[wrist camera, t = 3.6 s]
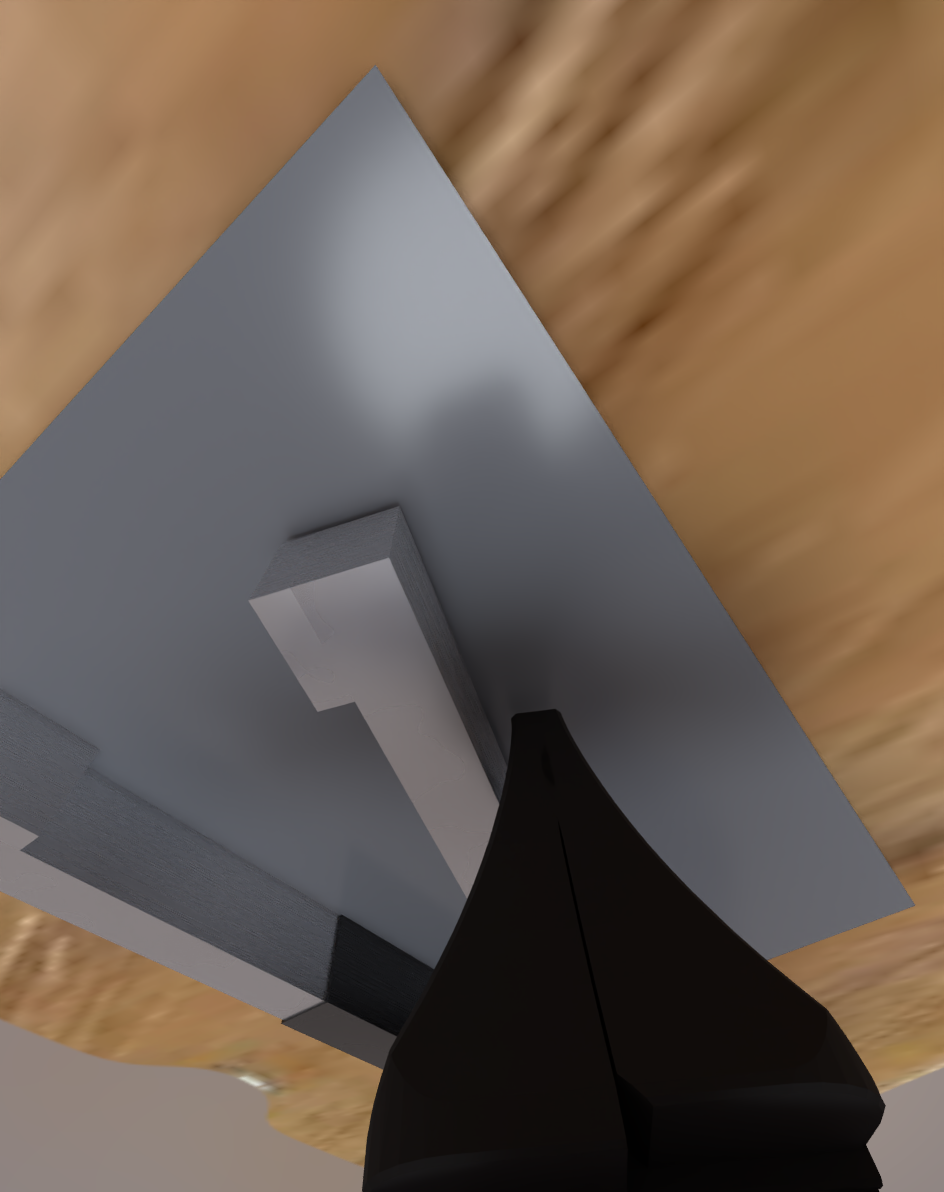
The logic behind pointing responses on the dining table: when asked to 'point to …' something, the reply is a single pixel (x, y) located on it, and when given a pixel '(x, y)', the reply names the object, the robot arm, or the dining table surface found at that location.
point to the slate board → (445, 544)
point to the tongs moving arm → (390, 670)
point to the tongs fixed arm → (187, 896)
